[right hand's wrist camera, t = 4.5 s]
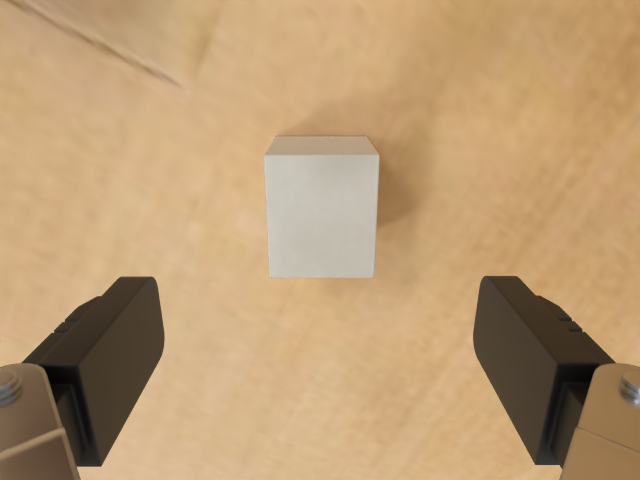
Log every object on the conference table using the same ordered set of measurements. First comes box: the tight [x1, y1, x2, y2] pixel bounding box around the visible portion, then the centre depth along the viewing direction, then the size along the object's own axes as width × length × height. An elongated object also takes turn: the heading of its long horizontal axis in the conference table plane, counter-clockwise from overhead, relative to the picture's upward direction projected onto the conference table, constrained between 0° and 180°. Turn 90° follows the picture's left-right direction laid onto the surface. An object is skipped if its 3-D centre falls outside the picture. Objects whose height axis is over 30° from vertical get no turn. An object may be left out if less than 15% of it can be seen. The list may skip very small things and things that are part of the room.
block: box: [264, 136, 380, 278], centre depth 20 cm, size 5×4×5 cm
